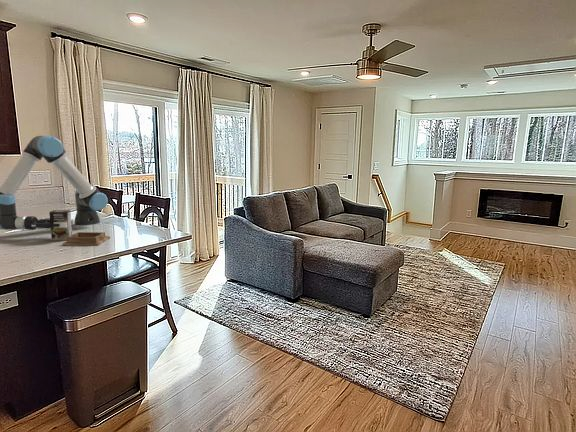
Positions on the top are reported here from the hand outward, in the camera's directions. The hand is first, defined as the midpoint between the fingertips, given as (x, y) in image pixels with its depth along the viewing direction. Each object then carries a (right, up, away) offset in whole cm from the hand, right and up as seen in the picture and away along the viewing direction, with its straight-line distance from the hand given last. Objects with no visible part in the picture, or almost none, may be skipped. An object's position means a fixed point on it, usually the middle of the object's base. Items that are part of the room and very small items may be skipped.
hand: (70, 223), depth 207 cm
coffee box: (-5, -9, +1) cm, 10 cm away
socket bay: (+11, -10, -3) cm, 16 cm away
